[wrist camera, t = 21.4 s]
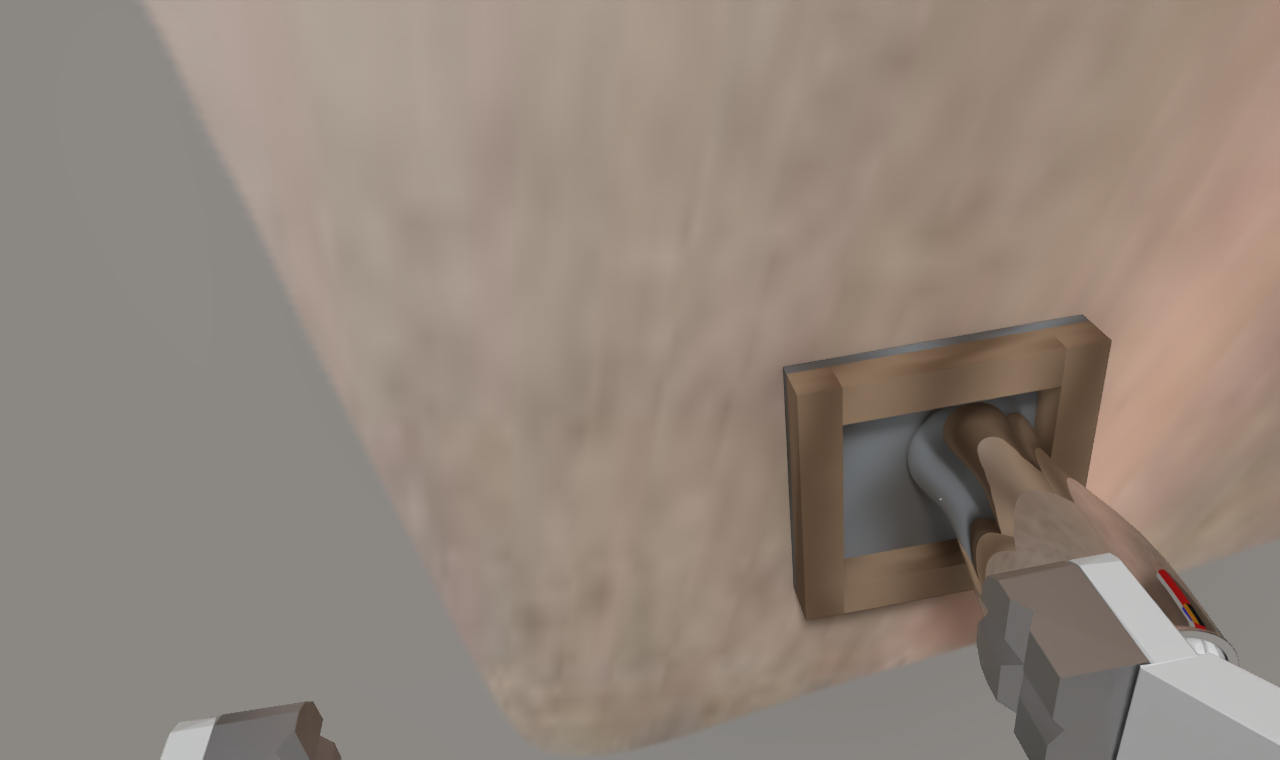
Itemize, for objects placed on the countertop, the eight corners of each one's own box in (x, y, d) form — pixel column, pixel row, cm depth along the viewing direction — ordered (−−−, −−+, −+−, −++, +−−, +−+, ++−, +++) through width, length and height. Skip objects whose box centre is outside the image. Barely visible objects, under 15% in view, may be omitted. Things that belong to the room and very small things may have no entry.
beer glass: (969, 360, 42) (1168, 600, 30) (1065, 424, 45) (1285, 668, 32) (867, 466, 45) (1010, 728, 32) (964, 520, 48) (1130, 781, 35)
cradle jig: (1082, 314, 42) (1111, 340, 40) (1047, 540, 50) (1070, 571, 48) (783, 366, 42) (797, 395, 40) (793, 587, 49) (806, 620, 47)
